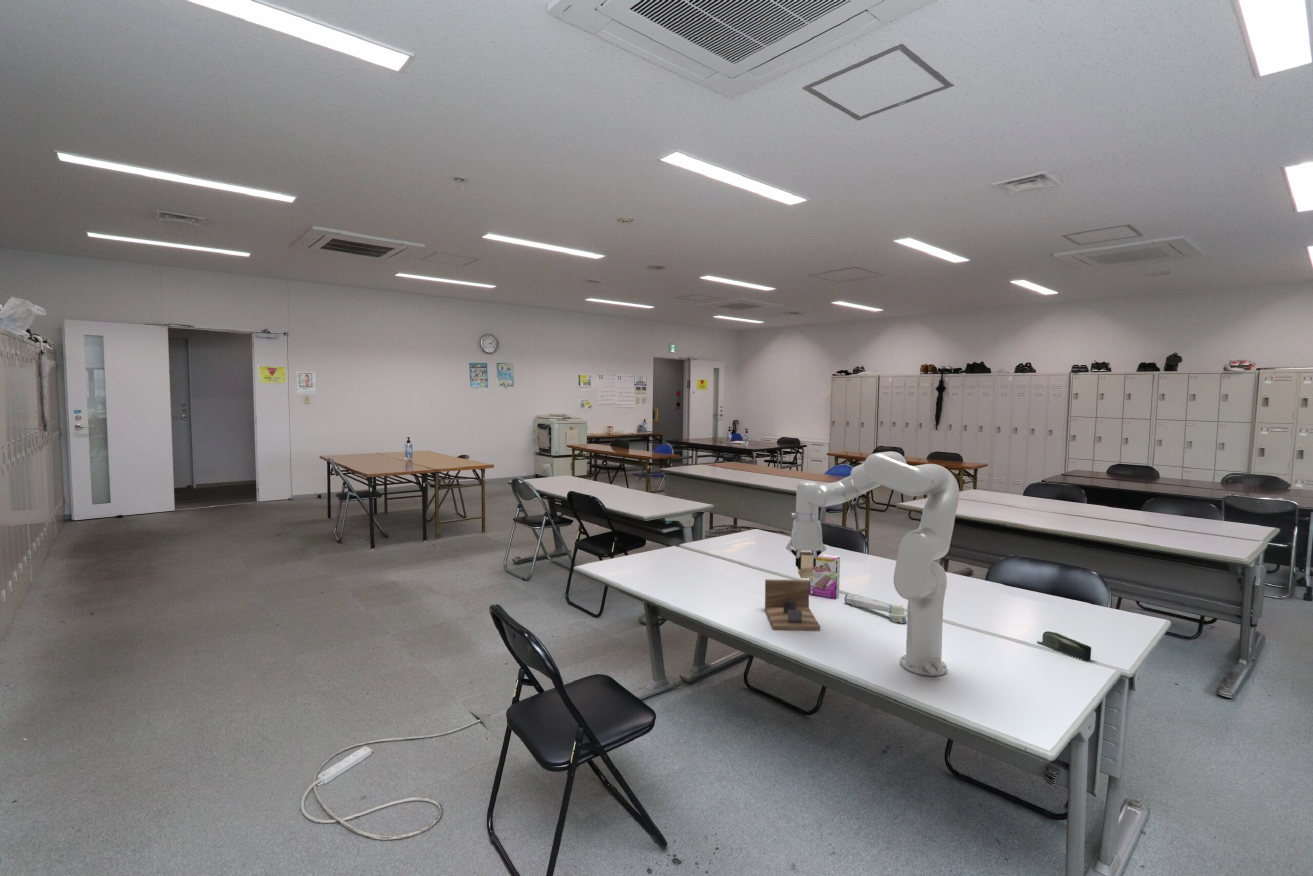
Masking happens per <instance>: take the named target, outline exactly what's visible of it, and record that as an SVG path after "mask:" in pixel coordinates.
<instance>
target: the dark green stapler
mask: <svg viewBox="0 0 1313 876" xmlns="http://www.w3.org/2000/svg"><path fill="white" fill-rule="evenodd" d="M1041 640H1042V641H1041ZM1041 640H1037V641H1036V643H1037V644H1039V643H1040V644H1039V645H1043V646H1046V647H1047V646H1048V648H1050V649H1053V650H1055V651H1057V652H1059V653H1062V652H1063V653H1062V654H1065V655H1067V654H1068V655H1067V656H1069V655H1071V656H1070V657H1072V656H1073V657H1072V658H1074V657H1076V658H1075V659H1077V658H1079V659H1078V660H1080V659H1082V660H1081V661H1083V660H1089V661H1091V660H1090V659H1091V657H1092V656H1091V655H1092V646H1090V645H1087V644H1085V643H1082V642H1080V641H1077V640H1075V639H1072V638H1070V637H1068V636H1065V635H1063V634H1061V633H1057V632H1053V631H1048V630H1047V631H1045V632H1043V633H1042V638H1041Z"/></svg>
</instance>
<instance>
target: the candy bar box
mask: <svg viewBox="0 0 1313 876" xmlns="http://www.w3.org/2000/svg"><path fill="white" fill-rule="evenodd" d="M840 570H841V556H839V555H832V554H824V553H821V554H820V555H819V556H818V557H817V558H816V567H814V570H813V579H811V578H808V580H809V595H810V594H811V596H815V595H816V596H817V597H821V596H822V597H823V598H828V599H832V598H833V600H836V598H837V599H838V597H839V596H840V578H841V577H840V576H841V575H840V572H841V571H840ZM822 597H821V598H822Z"/></svg>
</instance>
